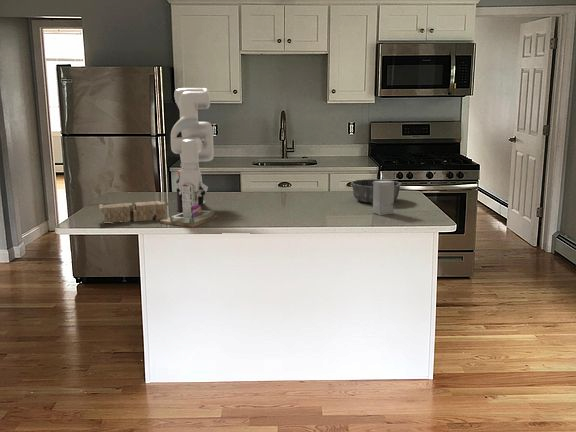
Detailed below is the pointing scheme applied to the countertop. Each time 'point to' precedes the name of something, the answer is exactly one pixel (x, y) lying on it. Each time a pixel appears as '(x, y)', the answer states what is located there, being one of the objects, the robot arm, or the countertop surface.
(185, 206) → the candy bar box
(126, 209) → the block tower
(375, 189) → the skincare box
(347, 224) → the countertop surface
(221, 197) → the countertop surface
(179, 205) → the bottle
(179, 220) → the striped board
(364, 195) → the bundt pan
